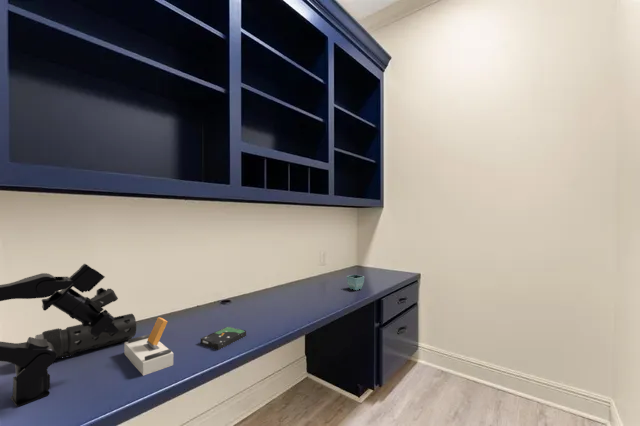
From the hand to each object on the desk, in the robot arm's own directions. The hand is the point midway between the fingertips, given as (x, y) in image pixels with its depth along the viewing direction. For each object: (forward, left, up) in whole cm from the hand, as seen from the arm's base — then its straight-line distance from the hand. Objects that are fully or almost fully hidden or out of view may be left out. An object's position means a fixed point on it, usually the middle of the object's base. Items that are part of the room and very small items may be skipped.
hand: (117, 331), depth 96 cm
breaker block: (+9, -2, -12) cm, 15 cm away
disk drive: (+34, -10, -13) cm, 38 cm away
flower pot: (+136, -19, -12) cm, 138 cm away
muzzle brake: (0, +22, -12) cm, 26 cm away
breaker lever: (+10, -2, -7) cm, 12 cm away
